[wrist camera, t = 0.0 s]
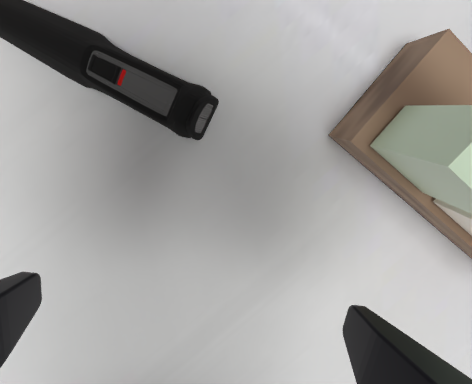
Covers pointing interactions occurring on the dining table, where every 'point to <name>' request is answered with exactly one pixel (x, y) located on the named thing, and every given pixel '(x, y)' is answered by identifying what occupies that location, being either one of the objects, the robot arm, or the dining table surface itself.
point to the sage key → (432, 150)
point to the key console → (408, 94)
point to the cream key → (457, 215)
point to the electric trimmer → (107, 68)
